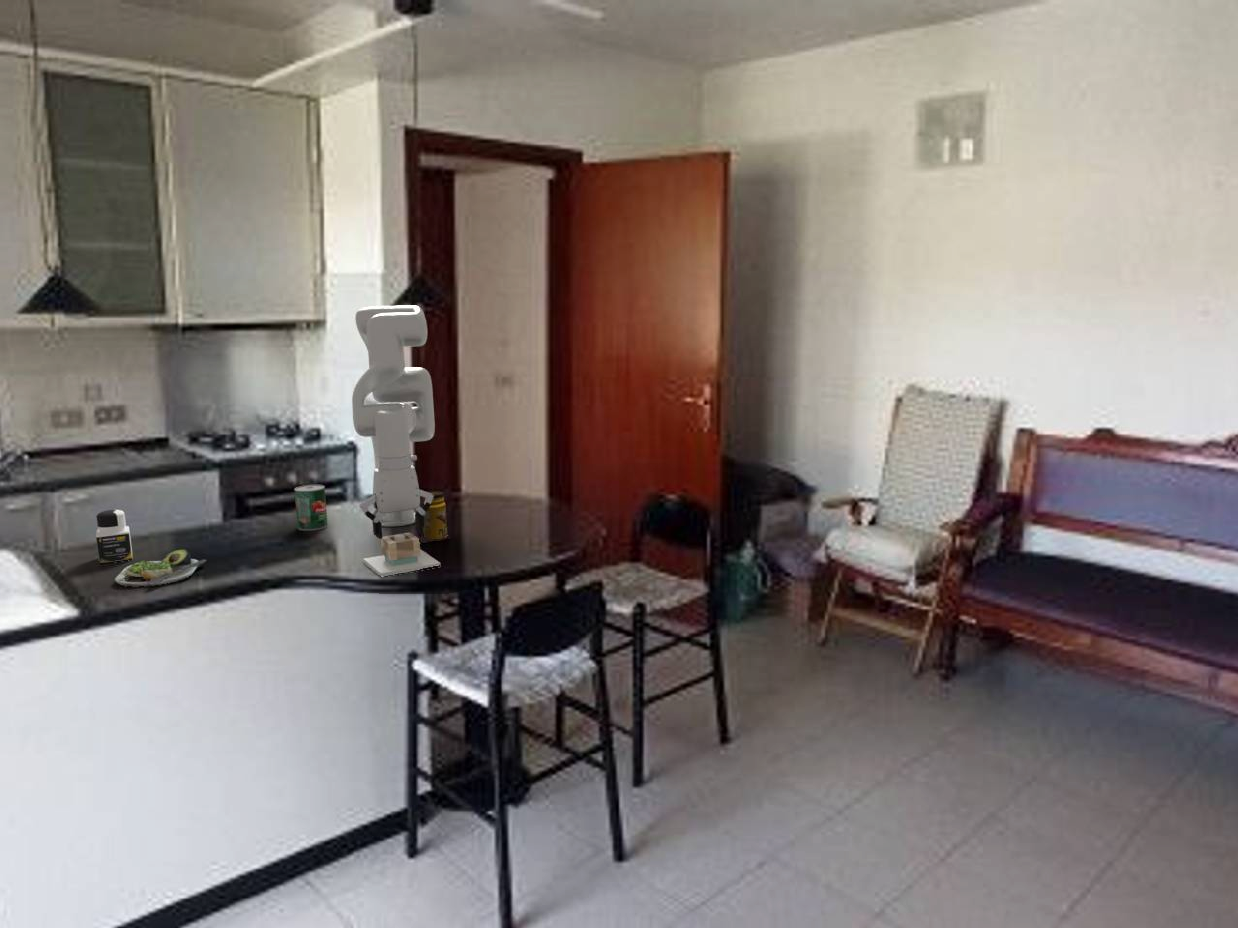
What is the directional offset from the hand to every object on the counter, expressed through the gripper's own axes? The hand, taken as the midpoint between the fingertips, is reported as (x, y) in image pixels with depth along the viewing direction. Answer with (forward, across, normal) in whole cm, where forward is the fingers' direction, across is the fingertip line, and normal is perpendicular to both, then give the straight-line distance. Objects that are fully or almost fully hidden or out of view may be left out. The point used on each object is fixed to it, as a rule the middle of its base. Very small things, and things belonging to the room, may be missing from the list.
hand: (399, 534), depth 219 cm
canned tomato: (+9, +9, -48) cm, 50 cm away
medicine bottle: (+8, +57, -45) cm, 73 cm away
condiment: (+8, -14, -17) cm, 23 cm away
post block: (+7, 0, +1) cm, 7 cm away
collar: (+5, 0, +1) cm, 5 cm away
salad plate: (+8, +49, -24) cm, 55 cm away
